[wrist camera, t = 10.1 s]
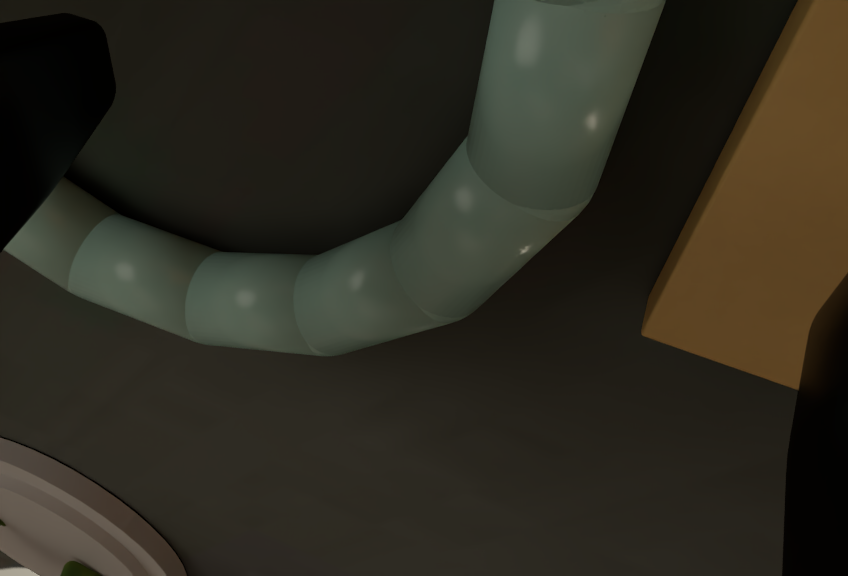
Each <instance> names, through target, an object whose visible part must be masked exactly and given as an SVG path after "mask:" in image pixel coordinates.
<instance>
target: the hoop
mask: <svg viewBox="0 0 848 576" xmlns="http://www.w3.org/2000/svg"><path fill="white" fill-rule="evenodd" d="M665 2H666V0H495V1H494V6H493V11H492V16H491V21H490V26H489V31H488V36H487V41H486V46H485V51H484V56H483V61H482V67H481V72H480V77H479V82H478V87H477V92H476V97H475V102H474V107H473V112H472V117H471V122H470V127H469V132H468V136H467V137H466V138H465V140H464V141H463V142H462V144H461V145H460V146H459V147H458V149H457V150H456V151H455V152H454V154H453V155H452V156H451V158H450V159H449V160H448V161H447V163H446V164H445V165H444V167H443V168H442V169H441V170H440V172H439V173H438V174H437V175H436V177H435V178H434V179H433V181H432V182H431V183H430V184H429V186H428V187H427V188H426V189H425V191H424V192H423V193H422V195H421V196H420V197H419V198H418V200H417V201H416V202H415V204H414V205H413V206H412V207H411V209H410V210H409V211H408V212H407V214H406V215H405V216H404V218H403V219H402V220H400V221H398V222H395V223H393V224H391V225H388V226H386V227H384V228H381V229H379V230H376V231H374V232H372V233H369V234H367V235H364V236H362V237H360V238H357V239H355V240H353V241H350V242H348V243H345V244H343V245H341V246H338V247H336V248H334V249H331V250H329V251H326V252H324V253H322V254H319V255H305V254H272V253H239V252H222V251H219V250H216V249H213V248H211V247H208V246H205V245H202V244H200V243H197V242H194V241H191V240H189V239H186V238H183V237H180V236H177V235H175V234H172V233H169V232H166V231H164V230H161V229H158V228H155V227H153V226H150V225H147V224H144V223H142V222H139V221H136V220H133V219H131V218H128V217H125V216H122V215H120V214H119V213H117V212H116V211H114V210H113V209H111V208H110V207H108V206H107V205H105V204H104V203H102V202H101V201H99V200H98V199H96V198H95V197H93V196H92V195H90V194H89V193H87V192H86V191H84V190H83V189H81V188H80V187H78V186H77V185H75V184H74V183H72V182H71V181H69V180H68V179H66V178H65V177H62V179H61V180H60V181H59V183H58V184H57V186H56V187H55V188H54V190H53V191H52V192H51V194H50V195H49V196H48V198H47V199H46V200H45V201H44V203H43V204H42V205H41V206H40V207H39V209H38V210H37V211H36V212H35V213H34V215H33V216H32V217H31V218H30V219H29V220H28V221H27V223H26V224H25V225H24V226H23V227H22V228H21V230H20V231H19V232H18V233H17V234H16V235H15V237H14V238H13V239H12V240H11V241H10V242H9V243H8V245H7V246H6V247H5V248H4V249H3V250H5V251H6V252H8V253H9V254H11V255H12V256H14V257H16V258H17V259H19V260H20V261H22V262H23V263H25V264H26V265H28V266H30V267H31V268H33V269H34V270H36V271H37V272H39V273H40V274H42V275H43V276H45V277H47V278H48V279H50V280H51V281H53V282H54V283H56V284H57V285H59V286H61V287H62V288H64V289H65V290H67V291H68V292H70V293H72V294H74V295H76V296H78V297H80V298H83V299H85V300H88V301H91V302H93V303H96V304H98V305H101V306H103V307H106V308H109V309H111V310H114V311H116V312H119V313H122V314H124V315H127V316H129V317H132V318H135V319H137V320H140V321H142V322H145V323H147V324H150V325H153V326H155V327H158V328H160V329H163V330H166V331H168V332H171V333H173V334H176V335H179V336H181V337H184V338H186V339H189V340H191V341H194V342H197V343H201V344H205V345H213V346H224V347H234V348H244V349H255V350H265V351H275V352H286V353H296V354H306V355H317V356H336V355H341V354H345V353H348V352H352V351H355V350H359V349H362V348H366V347H369V346H373V345H376V344H380V343H383V342H387V341H390V340H394V339H397V338H401V337H404V336H408V335H411V334H415V333H418V332H422V331H425V330H429V329H432V328H436V327H439V326H443V325H446V324H450V323H453V322H456V321H459V320H461V319H463V318H465V317H467V316H469V315H470V314H471V313H473V312H474V311H475V310H476V309H478V308H479V307H480V306H481V305H482V304H483V303H484V302H485V301H486V300H487V299H488V298H489V297H490V296H492V295H493V294H494V293H495V292H496V291H497V290H498V289H499V288H500V287H501V286H502V285H503V284H504V283H506V282H507V281H508V280H509V279H510V278H511V277H512V276H513V275H514V274H515V273H516V272H517V271H518V270H520V269H521V268H522V267H523V266H524V265H525V264H526V263H527V262H528V261H529V260H530V259H531V258H532V257H533V256H535V255H536V254H537V253H538V252H539V251H540V250H541V249H542V248H543V247H544V246H545V245H546V244H547V243H549V242H550V241H551V240H552V239H553V238H554V237H555V236H556V235H557V234H558V233H559V232H560V231H561V230H563V229H564V228H565V227H566V226H567V225H568V224H569V223H570V222H571V221H572V220H573V219H574V218H575V217H576V216H578V215H579V214H580V212H581V211H582V210H583V209H584V208H585V207H586V206H587V204H588V203H589V201H590V200H591V198H592V196H593V194H594V192H595V190H596V188H597V186H598V183H599V181H600V178H601V175H602V172H603V170H604V167H605V164H606V162H607V159H608V156H609V153H610V151H611V148H612V145H613V143H614V140H615V137H616V134H617V132H618V129H619V126H620V124H621V121H622V118H623V116H624V113H625V110H626V107H627V105H628V102H629V99H630V97H631V94H632V91H633V88H634V86H635V83H636V80H637V78H638V75H639V72H640V69H641V67H642V64H643V61H644V59H645V56H646V53H647V50H648V48H649V45H650V42H651V40H652V37H653V34H654V32H655V29H656V26H657V23H658V21H659V18H660V15H661V13H662V10H663V7H664V4H665Z"/></svg>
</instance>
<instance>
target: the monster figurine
mask: <svg viewBox="0 0 848 576" xmlns="http://www.w3.org/2000/svg"><path fill="white" fill-rule="evenodd" d="M0 550H1V551H2V552H4V553H5V554H6V555H8V556H9V557H11V558H12V559H14V560H15V561H17V562H18V563H20V564H22V565H23V566H25V567H26V568H28V569H30V570H31V571H33V572H35V573H36V574H38V575H40V576H187V574H186V572H185V569H184V567H183V564H182V563H181V561H180V560H179V558H178V556H177V555H176V553H175V552H174V551H173V549H172V548H171V547H170V546H169V545H168V543H167V542H166V541H165V540H164V539H163V538H162V537H161V536H160V535H159V534H158V533H157V532H156V531H155V530H154V529H153V528H152V527H151V526H150V525H149V524H148V523H147V522H146V521H144V520H143V519H142V518H141V517H140V516H139V515H138V514H137V513H135V512H134V511H133V510H131V509H130V508H129V507H128V506H126V505H125V504H124V503H122V502H121V501H120V500H119V499H117V498H116V497H114V496H113V495H111V494H110V493H109V492H107V491H106V490H104V489H103V488H101V487H100V486H98V485H97V484H95V483H94V482H92V481H90V480H89V479H87V478H86V477H84V476H82V475H81V474H79V473H77V472H76V471H74V470H72V469H70V468H68V467H67V466H65V465H63V464H61V463H59V462H57V461H56V460H54V459H52V458H49V457H47V456H45V455H43V454H41V453H39V452H37V451H35V450H32V449H30V448H27V447H25V446H22V445H20V444H17V443H15V442H12V441H9V440H6V439H3V438H0Z"/></svg>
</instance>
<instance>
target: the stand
mask: <svg viewBox="0 0 848 576" xmlns="http://www.w3.org/2000/svg"><path fill="white" fill-rule="evenodd" d="M847 273H848V0H798V1H797V3H796V5H795V7H794V9H793V11H792V13H791V15H790V17H789V19H788V21H787V23H786V25H785V27H784V29H783V31H782V33H781V35H780V37H779V39H778V41H777V43H776V45H775V47H774V49H773V51H772V53H771V55H770V57H769V59H768V61H767V63H766V65H765V67H764V69H763V71H762V73H761V74H760V76H759V78H758V80H757V82H756V84H755V86H754V88H753V90H752V92H751V94H750V96H749V98H748V100H747V102H746V104H745V106H744V108H743V110H742V112H741V114H740V116H739V118H738V120H737V122H736V124H735V126H734V128H733V130H732V132H731V134H730V136H729V138H728V140H727V142H726V144H725V146H724V148H723V150H722V152H721V154H720V156H719V158H718V160H717V162H716V164H715V166H714V168H713V170H712V172H711V174H710V176H709V178H708V180H707V182H706V184H705V186H704V188H703V190H702V192H701V194H700V196H699V198H698V200H697V202H696V204H695V205H694V207H693V209H692V211H691V213H690V215H689V217H688V219H687V221H686V223H685V225H684V227H683V229H682V231H681V233H680V235H679V237H678V239H677V241H676V243H675V245H674V247H673V249H672V251H671V253H670V255H669V257H668V259H667V261H666V263H665V265H664V267H663V269H662V271H661V273H660V275H659V277H658V279H657V281H656V283H655V285H654V287H653V289H652V291H651V293H650V295H649V297H648V301H647V306H646V311H645V315H644V320H643V325H642V329H641V334H642V335H643V336H644V337H647V338H650V339H653V340H656V341H659V342H662V343H664V344H667V345H670V346H673V347H676V348H679V349H682V350H684V351H687V352H690V353H693V354H696V355H699V356H702V357H704V358H707V359H710V360H713V361H716V362H719V363H722V364H724V365H727V366H730V367H733V368H736V369H739V370H742V371H744V372H747V373H750V374H753V375H756V376H759V377H762V378H764V379H767V380H770V381H773V382H776V383H779V384H782V385H784V386H787V387H790V388H793V389H796V390H798V389H799V384H800V378H801V372H802V367H803V361H804V356H805V350H806V344H807V339H808V333H809V330H810V327H811V324H812V322H813V319H814V317H815V316H816V314H817V312H818V311H819V310H820V308H821V307H822V306H823V304H824V303H825V302H826V300H827V299H828V298H829V296H830V295H831V294H832V292H833V291H834V290H835V288H836V287H837V286H838V285H839V283H840V282H841V281H842V279H843V278H844V277H845V275H846V274H847Z"/></svg>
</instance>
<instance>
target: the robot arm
mask: <svg viewBox="0 0 848 576" xmlns="http://www.w3.org/2000/svg"><path fill="white" fill-rule="evenodd" d="M115 93H116V83H115V78H114V73H113V68H112V63H111V58H110V53H109V48H108V43H107V38H106V34H105V32H104V30H103V29H102V27H101V26H100V25H99V24H98V23H97V22H95V21H92V20H89V19H85V18H82V17H79V16H76V15H73V14H68V13H60V14H54V15H48V16H42V17H35V18H29V19H23V20H17V21H11V22H5V23H0V253H1V252H2V250H3V249H4V248H5V247H6V246H7V245H8V243H9V242H10V241H11V240H12V239H13V238H14V237H15V235H16V234H17V233H18V232H19V231H20V230H21V228H22V227H23V226H24V225H25V224H26V223H27V221H28V220H29V219H30V218H31V217H32V216H33V215H34V213H35V212H36V211H37V210H38V209H39V207H40V206H41V205H42V204H43V203H44V201H45V200H46V199H47V198H48V196H49V195H50V194H51V192H52V191H53V190H54V188H55V187H56V186H57V184H58V183H59V181H60V180H61V179H62V177H63V176H64V174H65V173H66V171H67V170H68V168H69V167H70V165H71V164H72V162H73V161H74V160H75V158H76V157H77V155H78V154H79V152H80V151H81V149H82V148H83V146H84V145H85V143H86V142H87V141H88V139H89V138H90V136H91V135H92V133H93V132H94V130H95V129H96V127H97V126H98V124H99V123H100V122H101V120H102V119H103V117H104V116H105V114H106V113H107V111H108V110H109V108H110V107H111V105H112V103H113V101H114V98H115ZM782 576H848V273H847V274H846V275H845V277H844V278H843V279H842V281H841V282H840V283H839V285H838V286H837V287H836V288H835V290H834V291H833V292H832V294H831V295H830V296H829V298H828V299H827V300H826V302H825V303H824V304H823V306H822V307H821V308H820V310H819V311H818V312H817V314H816V316H815V317H814V319H813V322H812V324H811V327H810V330H809V333H808V339H807V344H806V350H805V356H804V361H803V367H802V372H801V378H800V384H799V389H798V395H797V401H796V406H795V412H794V418H793V423H792V429H791V435H790V441H789V448H788V455H787V469H786V490H785V516H784V543H783V569H782Z"/></svg>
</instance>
